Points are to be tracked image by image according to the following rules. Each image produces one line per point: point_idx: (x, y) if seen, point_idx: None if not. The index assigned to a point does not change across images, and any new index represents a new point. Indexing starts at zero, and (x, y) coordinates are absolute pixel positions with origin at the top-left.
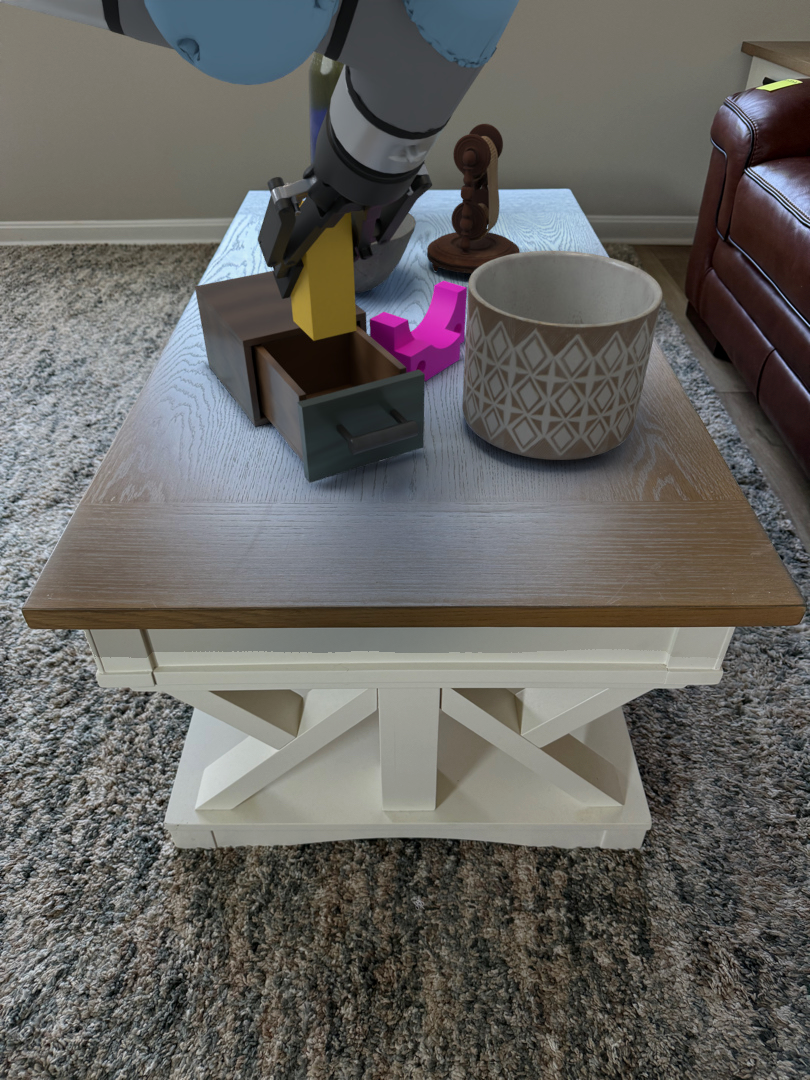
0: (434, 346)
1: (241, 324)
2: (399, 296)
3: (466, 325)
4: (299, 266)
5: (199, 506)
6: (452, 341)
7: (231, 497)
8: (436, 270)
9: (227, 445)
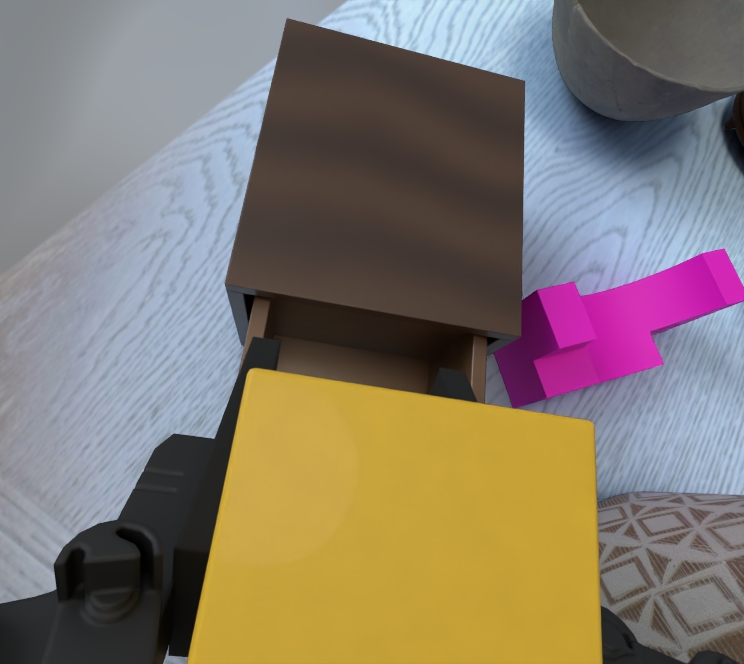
0: (606, 366)
1: (267, 216)
2: (643, 154)
3: (674, 593)
4: (188, 653)
5: (17, 506)
6: (641, 367)
7: (79, 515)
8: (728, 129)
9: (171, 365)
